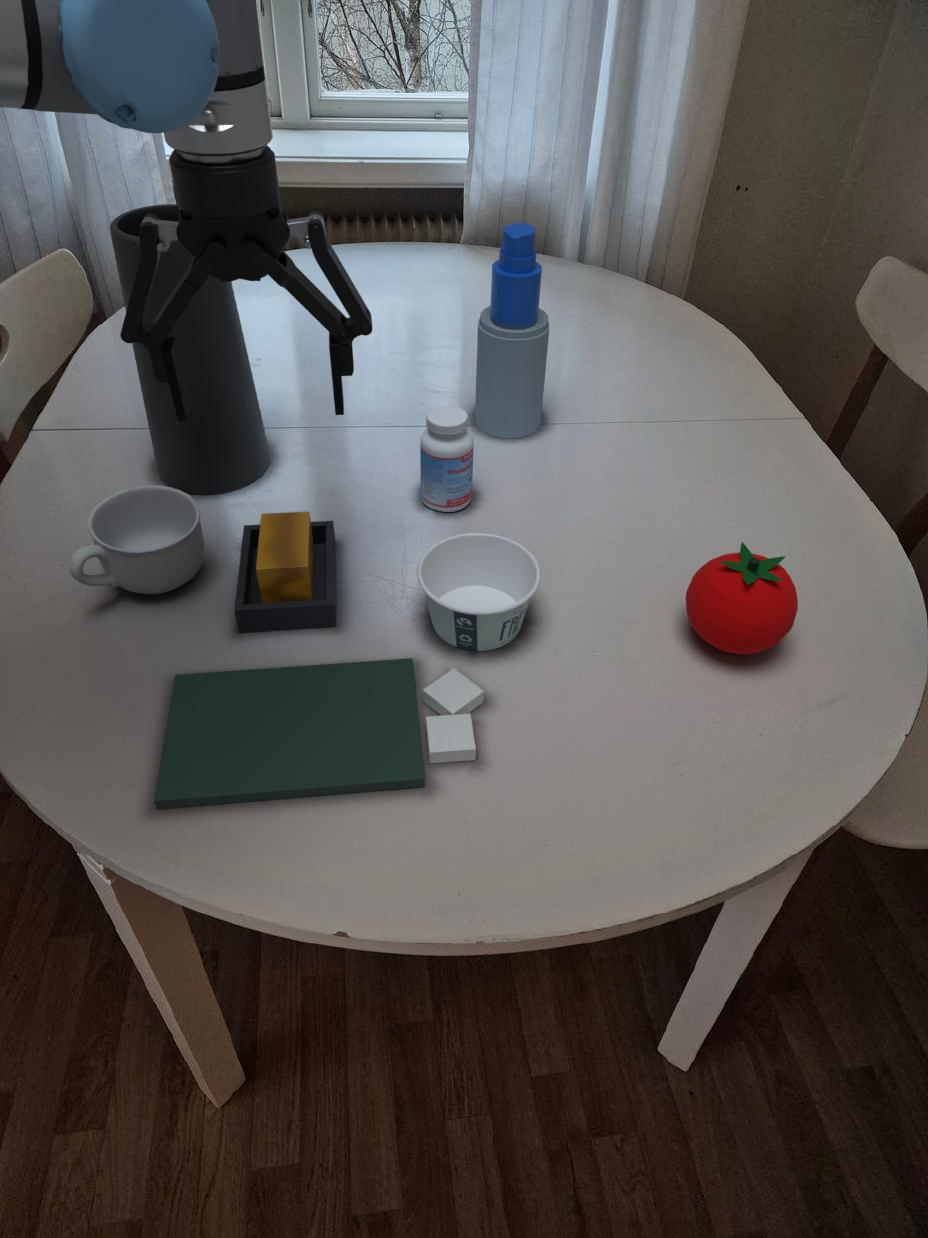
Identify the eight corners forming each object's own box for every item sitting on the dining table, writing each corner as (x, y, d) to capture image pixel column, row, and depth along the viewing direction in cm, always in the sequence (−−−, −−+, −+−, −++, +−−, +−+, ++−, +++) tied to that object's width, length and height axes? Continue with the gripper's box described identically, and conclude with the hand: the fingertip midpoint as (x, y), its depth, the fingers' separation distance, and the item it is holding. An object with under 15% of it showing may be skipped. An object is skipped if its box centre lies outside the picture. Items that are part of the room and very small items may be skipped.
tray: (239, 633, 86) (234, 610, 83) (248, 547, 95) (243, 524, 93) (336, 626, 86) (334, 604, 84) (335, 542, 96) (333, 520, 94)
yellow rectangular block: (263, 610, 87) (255, 569, 83) (268, 554, 94) (261, 513, 90) (313, 607, 88) (307, 566, 84) (314, 551, 94) (309, 510, 90)
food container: (440, 570, 93) (440, 521, 89) (547, 594, 91) (553, 546, 86) (400, 645, 85) (398, 595, 80) (518, 674, 82) (523, 624, 78)
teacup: (184, 531, 97) (168, 471, 92) (231, 580, 91) (217, 520, 86) (62, 581, 91) (37, 520, 85) (104, 638, 85) (80, 577, 79)
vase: (275, 432, 112) (240, 197, 92) (264, 493, 103) (222, 245, 83) (168, 434, 112) (110, 197, 92) (147, 496, 102) (77, 246, 82)
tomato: (658, 614, 89) (677, 537, 82) (745, 593, 91) (770, 517, 84) (711, 686, 82) (736, 609, 75) (804, 661, 84) (836, 584, 77)
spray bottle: (494, 397, 120) (504, 209, 103) (552, 415, 117) (571, 224, 100) (462, 426, 115) (466, 232, 97) (521, 445, 111) (536, 248, 94)
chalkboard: (157, 809, 71) (153, 801, 70) (178, 683, 81) (175, 674, 80) (424, 787, 73) (424, 778, 72) (412, 666, 83) (412, 658, 82)
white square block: (452, 725, 78) (452, 714, 76) (422, 701, 80) (422, 689, 78) (483, 702, 80) (484, 690, 79) (453, 679, 82) (453, 667, 81)
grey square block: (429, 763, 74) (429, 752, 73) (425, 728, 77) (425, 716, 76) (475, 760, 75) (476, 749, 74) (470, 724, 78) (470, 713, 77)
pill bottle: (456, 519, 100) (457, 435, 92) (411, 503, 102) (409, 419, 94) (480, 493, 104) (484, 410, 96) (437, 478, 106) (437, 396, 98)
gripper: (27, 165, 58) (110, 439, 73) (397, 161, 60) (405, 426, 75) (52, 134, 63) (125, 394, 78) (391, 131, 66) (400, 384, 80)
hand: (262, 410), depth 77 cm, fingers open, 13 cm apart
